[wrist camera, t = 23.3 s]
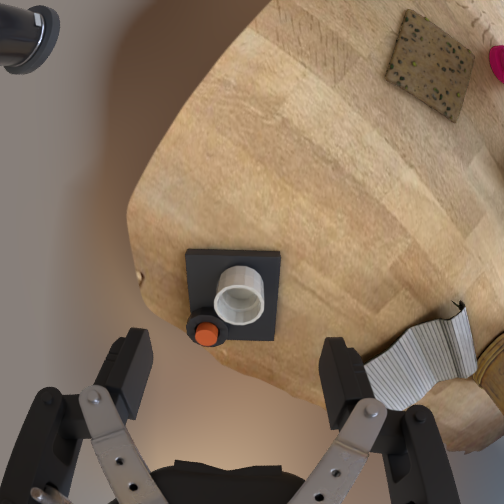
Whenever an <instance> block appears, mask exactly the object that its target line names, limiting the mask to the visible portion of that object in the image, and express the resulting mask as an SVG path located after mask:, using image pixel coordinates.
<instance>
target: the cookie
mask: <svg viewBox="0 0 504 504" xmlns="http://www.w3.org/2000/svg"><path fill="white" fill-rule="evenodd" d="M474 59H475V56H474V55H473V54H472V53H471V52H470V50H469V49H466V48H465V47H464V46H463V45H461V43H459V42H458V41H456V40H455V39H454V38H452V37H451V36H450V35H448V34H447V33H445V32H444V31H443V30H442V29H440V28H439V27H437V26H436V25H435V24H433V23H432V22H430V21H429V20H428V19H427V18H426V17H423V16H421V15H419V14H417V13H416V12H415V11H413V10H410V9H407V11H406V15H405V17H404V21H403V23H402V27H401V31H399V37H398V40H396V46H395V51H394V53H393V56H392V59H391V62H390V63H389V69H388V70H387V74H386V77H385V79H386V80H387V81H389V82H391V83H392V84H394V85H397V86H399V87H400V88H402V89H404V90H406V91H407V92H409V93H410V94H412V95H413V96H415V97H417V98H419V99H420V100H421V101H423V102H424V103H426V104H428V105H429V107H431V108H432V107H433V108H434V109H435V110H436V111H438V112H440V113H441V114H443V115H444V116H446V117H447V118H448V119H450V120H451V121H452V122H453V123H456V122H457V119H458V116H459V114H460V110H461V107H462V104H463V101H464V96H465V93H466V89H467V86H468V82H469V79H470V74H471V70H472V66H473V62H474Z"/></svg>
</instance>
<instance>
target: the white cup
mask: <svg viewBox="0 0 504 504" xmlns="http://www.w3.org/2000/svg"><path fill="white" fill-rule="evenodd" d="M214 309H215V311H216V313H217V315H218V316H219V317H220V318H221V319H223V320H224V321H225V322H228V323H230V324H233V325H246V324H250V323H252V322H254V321H256V320H257V319H258V318H259V317H260V316H261V314H262V313H263V311H264V283H263V280H262V278H261V276H260V274H259V273H257V272H256V271H255V270H254V269H252V268H249V267H247V266H234V267H231V268H228V269H227V270H225V271H224V272H223V273H222V274H221V276H220V278H219V280H218V284H217V289H216V293H215V298H214Z"/></svg>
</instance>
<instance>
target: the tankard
mask: <svg viewBox="0 0 504 504" xmlns="http://www.w3.org/2000/svg"><path fill="white" fill-rule="evenodd" d="M473 379H474V381H475V382H476V383H477V384H478V386H479V387H480V388H481V389H484V390H485V391H486V392H487V394H488V395H489V396H490V398H491V399H492V400H493V402H494V403H495V404H496V406H497V407H498V408H499V410H500V411H501V412H502V414H503V415H504V333H503V334H502V335H500V336H499V337H498V338H497V339H496V340H495V341H494V342H493V343H492V344H491V345H490V346H489V347H488V348H487V349H486V350H485V351H484V352H483V354H482V355H481V356H480V358H479V359H478V361H477V370H476V372H475V373H473Z"/></svg>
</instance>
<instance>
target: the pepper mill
mask: <svg viewBox="0 0 504 504" xmlns="http://www.w3.org/2000/svg"><path fill="white" fill-rule="evenodd" d="M489 60H490V65H491V68H492V71H493V73H494V74H495V76H496V77H497V78H498V80H500V81H501V82H502V83H504V46H503V45H501V46H494V47H492V48H491V50H490V53H489Z"/></svg>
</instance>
